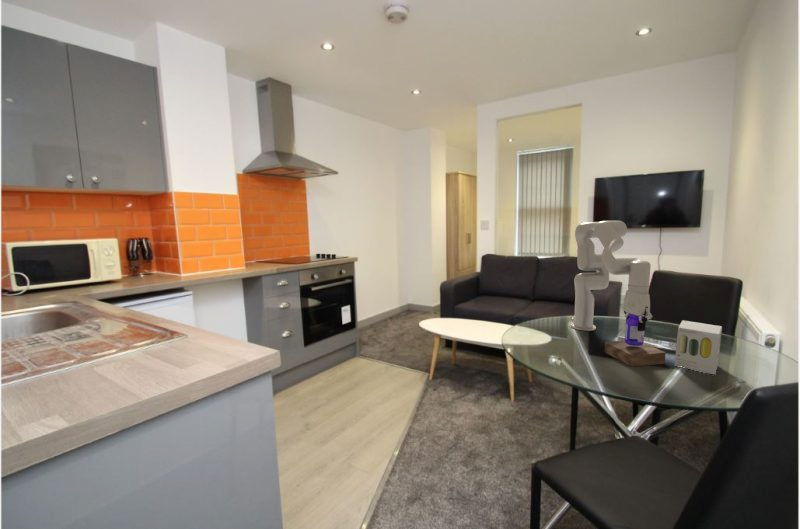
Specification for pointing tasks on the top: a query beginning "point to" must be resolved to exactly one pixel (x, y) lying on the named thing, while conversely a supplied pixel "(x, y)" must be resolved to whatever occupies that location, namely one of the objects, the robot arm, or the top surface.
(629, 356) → the plinth
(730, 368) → the top surface
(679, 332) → the supplement box
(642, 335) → the bottle
